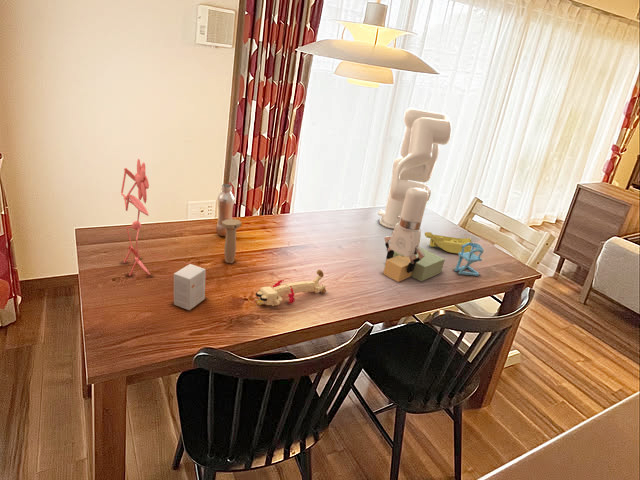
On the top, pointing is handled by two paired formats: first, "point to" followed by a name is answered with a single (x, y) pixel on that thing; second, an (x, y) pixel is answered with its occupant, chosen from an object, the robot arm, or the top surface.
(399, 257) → the tan rectangular block
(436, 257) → the notch pad
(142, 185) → the figurine
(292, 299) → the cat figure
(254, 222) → the top surface
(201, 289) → the small box
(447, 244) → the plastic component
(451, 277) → the top surface
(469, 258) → the chair
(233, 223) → the handle
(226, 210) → the plastic bottle
